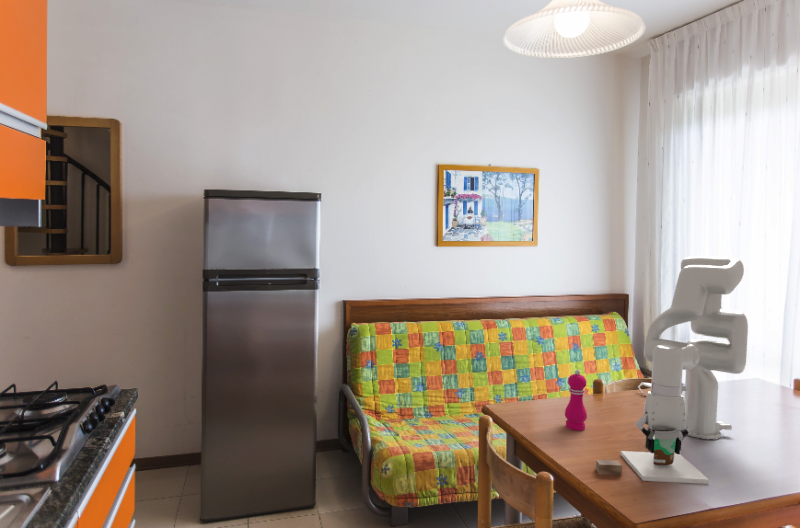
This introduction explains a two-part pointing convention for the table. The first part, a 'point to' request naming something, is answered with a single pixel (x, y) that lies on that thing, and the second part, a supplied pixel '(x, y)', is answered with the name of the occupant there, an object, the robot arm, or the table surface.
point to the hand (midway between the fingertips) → (663, 451)
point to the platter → (663, 468)
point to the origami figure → (645, 385)
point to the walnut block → (608, 467)
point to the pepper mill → (576, 403)
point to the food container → (664, 446)
